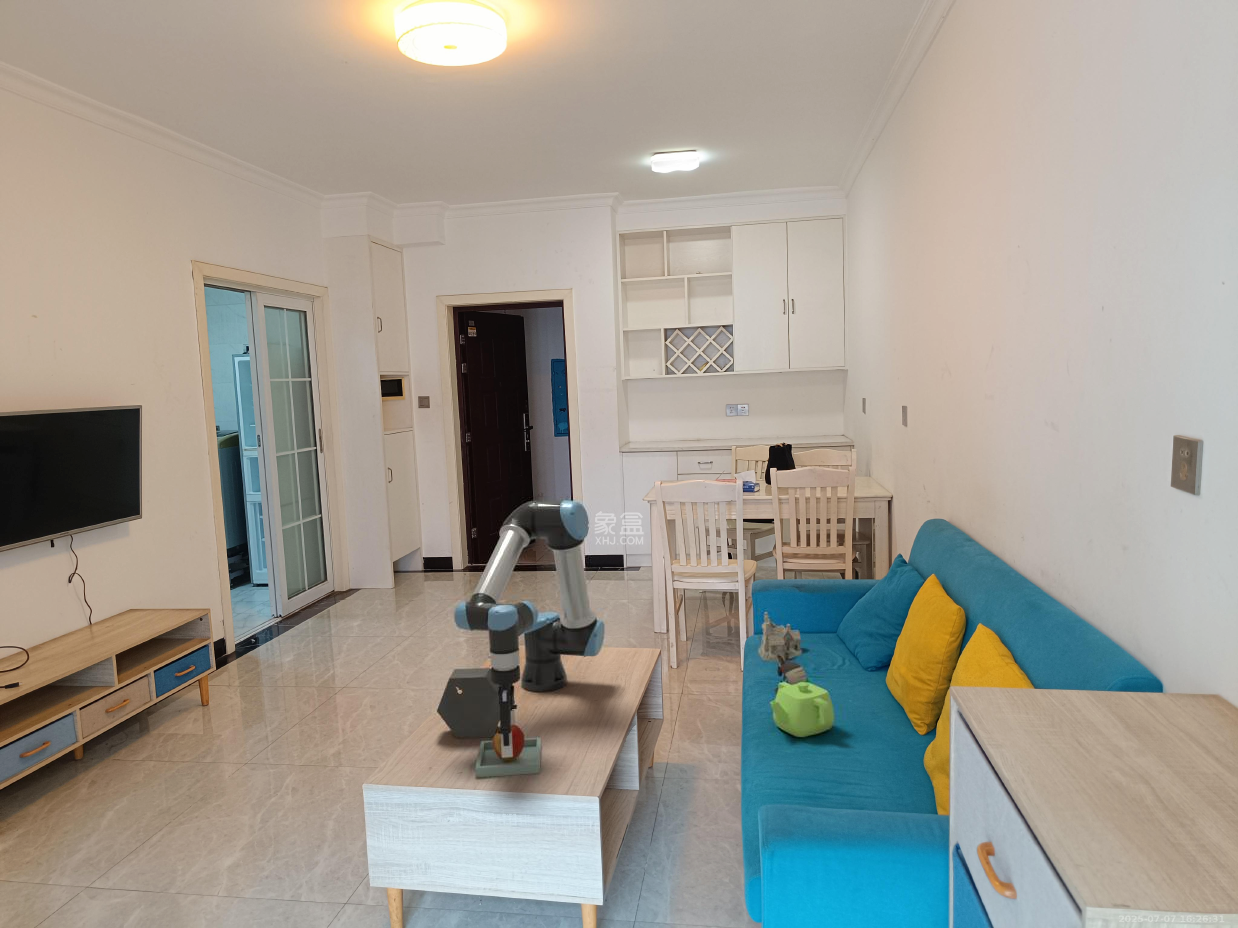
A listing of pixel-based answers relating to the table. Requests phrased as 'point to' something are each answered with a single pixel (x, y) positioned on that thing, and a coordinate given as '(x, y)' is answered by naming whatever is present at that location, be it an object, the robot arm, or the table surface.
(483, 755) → the dish
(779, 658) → the figurine
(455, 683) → the grey hexagonal block
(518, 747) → the apple
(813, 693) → the teapot
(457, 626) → the robot arm
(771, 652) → the ceramic cottage
